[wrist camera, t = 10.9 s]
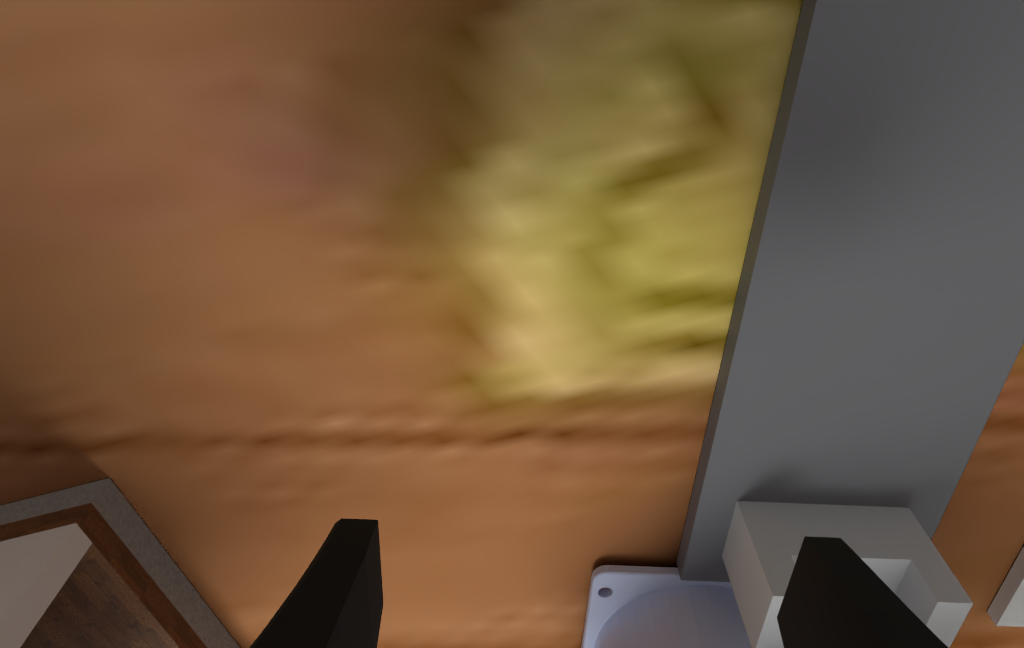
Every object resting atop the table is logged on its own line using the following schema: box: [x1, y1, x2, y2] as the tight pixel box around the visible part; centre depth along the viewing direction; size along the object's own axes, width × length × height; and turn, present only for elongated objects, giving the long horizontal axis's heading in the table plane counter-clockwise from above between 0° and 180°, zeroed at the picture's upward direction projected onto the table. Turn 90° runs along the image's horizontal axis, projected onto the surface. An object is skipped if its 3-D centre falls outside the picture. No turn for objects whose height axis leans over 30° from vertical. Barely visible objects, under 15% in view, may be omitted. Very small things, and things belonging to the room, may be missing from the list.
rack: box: [676, 0, 1024, 648], centre depth 17 cm, size 24×8×4 cm, turn 177°
